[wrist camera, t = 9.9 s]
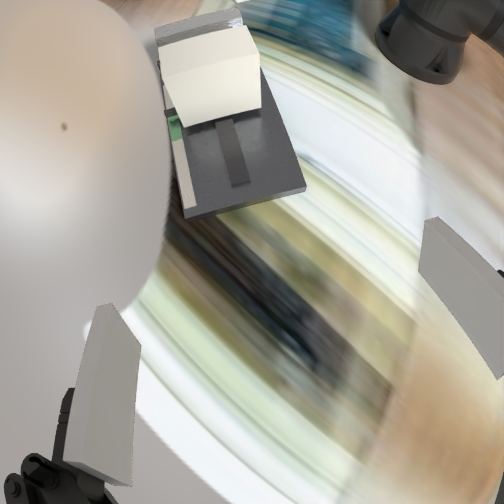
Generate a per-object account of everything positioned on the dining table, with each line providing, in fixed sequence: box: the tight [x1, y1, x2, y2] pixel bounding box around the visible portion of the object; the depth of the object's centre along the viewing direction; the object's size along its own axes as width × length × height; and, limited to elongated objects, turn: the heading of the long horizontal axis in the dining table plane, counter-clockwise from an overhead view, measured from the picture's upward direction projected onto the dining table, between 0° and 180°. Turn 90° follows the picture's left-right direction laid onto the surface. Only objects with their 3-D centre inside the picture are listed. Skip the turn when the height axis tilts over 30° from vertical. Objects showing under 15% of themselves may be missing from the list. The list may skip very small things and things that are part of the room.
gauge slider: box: [157, 25, 261, 128], centre depth 28 cm, size 5×11×9 cm, turn 105°
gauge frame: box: [155, 8, 307, 223], centre depth 30 cm, size 22×13×10 cm, turn 15°
